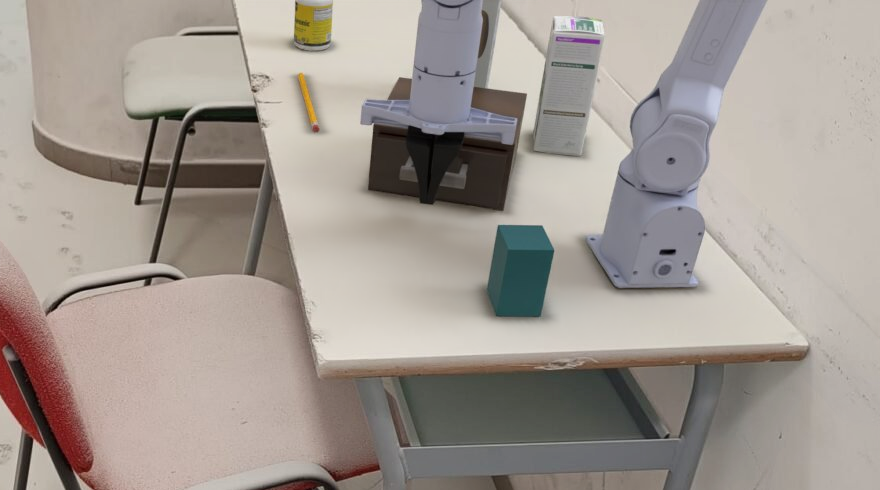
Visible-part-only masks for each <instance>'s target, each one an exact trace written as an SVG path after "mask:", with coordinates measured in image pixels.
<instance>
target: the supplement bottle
mask: <svg viewBox="0 0 880 490" xmlns="http://www.w3.org/2000/svg"><path fill="white" fill-rule="evenodd" d="M333 6H334V0H295V1H294V23H293V24H294V27H293V44H294V46H295V47H297V48H298V49H301V50H305V51H310V52H311V51H312V52H316V51H323V50H326V49H328V48H330V46H331V43H332V29H333V28H332V26H333V10H334V7H333Z"/></svg>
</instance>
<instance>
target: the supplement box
mask: <svg viewBox="0 0 880 490" xmlns="http://www.w3.org/2000/svg"><path fill="white" fill-rule="evenodd" d="M502 1H503V0H483V4H482V11H481V14H482V17H483V24H482V31H481V38H480V45H479V52H478V59H477V66H476V73H475V80H474V87H480V88H488V89H489V83H490V77H491V70H492V65H493V58H494V51H495V47H496V46H495V45H496V40H497V34H498V29H499V28H498V27H499V22H500V21H499V20H500V15H501V6H502ZM420 9H421V10H420V12H421V11H422V8H420Z"/></svg>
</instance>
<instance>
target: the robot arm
mask: <svg viewBox="0 0 880 490" xmlns="http://www.w3.org/2000/svg"><path fill="white" fill-rule="evenodd" d="M767 3H768V0H699V1H698V3H697V5H696V8H695V10H694V12H693V14H692V16H691V19H690V21H689V22H688V23H689V24H688V25H687V28H686V30H685V32H684V34H683V36H682V38H681V41H680V43H679V45H678V47H677V50H676V52H675V54H674V56H673V59H672V61H671V63H670V64H669V65H668V66H667V67H666V68H665V70H663V72H661V74H660V75H659V78H658V80H657V82H656V84H655V86H654V88H653V89H652V90H651V92H650V93H648V94H647V95H646V96H645V97H644V98H643V99H641V100H640V101H639V102H638V103H637V104H636V106H635V107H634V109H633V111H632V113H631V115H630V120H629V131H630V135H631V138H632V149H631V151H630V152H629V153H628V154H627V155H626V156H625V157H624V158H623V159H622V160H621V161H620V163H619V165H618V170H617V174H616V178H615V182H614V187H613V191H612V194H611V199H610V202H609V206H608V212H607V214H606V215H607V216H606V219H605V224H604V228H603V231H602V234H587V235H585V238H584V240H585V242H586V243H587V245H588V246H589V248H590V250H591V251H592V252H593V254H594V256H595V258H596V259H597V261H598V262H599V263H600V265H601V267H602V268H603V270H604V271H605V273H606V274H607V276H608V278H609V279H610V281H611V282H612V284H613V286H615V287H616V288H619V289H632V288H633V289H635V288H636V289H637V288H640V289H641V288H697V287H698V286H699V280H698V279H697V277H696V276H695V275H694V274H693V272H694V270H695V265H696V262H697V259H698V256H699V252H700V249H701V246H702V243H703V239H704V235H705V233H706V221H705V218H704V216H703V214H702V212H701V210H700V207H699V204H698V190H699V185H700V181H701V180H702V179H701V178H702V177H703V176H704V175H705V173H706V171H707V169H708V167H709V163H710V159H711V153H710V141H711V136H712V134H713V131H714V130H715V127H716V125H717V123H718V120H719V116H720V109H721V105H722V100H723V95H724V92H725V88H726V86H727V84H728V82H729V80H730V78H731V76H732V75H733V72H734V69H735V67H736V65H737V63H738V62H739V60H740V57H741V55H742V54H743V51H744V49H745V47H746V46H747V43H748V41H749V40H750V37H751V35H752V34H753V31H754V29H755V27H756V25H757V23H758V21H759V18H760V16H761V15H762V12H763V11H764V9H765V7H766V4H767ZM482 4H483V0H421V9H422V11H421V10H420V12H419V14H418V19H417V27H416V39H415V46H414V56H413V67H412V76H411V79H412V84H411V93H410V100H387V99H372V98H365V100H364V101H363V103H362V104H361V110H360V111H361V112H360V123H359V124H360V125H362V126H373V124H381V125H389V126H396V127H404V128H408V132H407V137H406V139H405V143H406V148H407V150H408V152H409V155H410V157H411V159H412V162H413V165H414V168H415V171H416V175H417V180H418V186H419V194H420V198H419V204H424V205H430V206H434V205H435V202H436V201H435V199H436V196H437V191H438V187H439V185H440V183H441V181H442V179H443V177H444V175H445V173H446V171H447V169H448V168H449V166H450V164H451V163H452V161H453V160H454V159H455V157H456V156H457V154H458V152H459V151H460V149H461V147H462V144H463V141H464V138H465V136H470V137H477V138H485V139H492V140H500V141H501V143H503V144H508V145H513V141H514V136H515V131H516V125H517V118H512V117H506V116H501V115H497V114H493V113H490V112H486V111H482V110H479V109H475V108H471V101H472V94H473V87H474V80H475V73H476V66H477V59H478V52H479V45H480V38H481V31H482V24H483V17H482V14H481V11H482ZM436 135H438V136H437V138H436ZM432 161H433V165H432Z"/></svg>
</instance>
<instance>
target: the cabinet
mask: <svg viewBox="0 0 880 490" xmlns="http://www.w3.org/2000/svg"><path fill="white" fill-rule="evenodd" d="M411 84H412V78H411V77H410V78H408V77H401V76H399V77H398V79H397V81H396V82H395V84H394V86H393V87H392V90H391V91H390V93H389V94H388V97H387V99H386V100H410V93H411ZM527 97H528V93H527V92H517V91H511V90H510V91H509V90H502V89H496V88H495V89H494V88H489V87H488V88H480V87H473V94H472V101H471V108H475V109H479V110H482V111H486V112H490V113H493V114H497V115H501V116H506V117H512V118H517V125H516V131H515V136H514V141H513V145H508V144H503V143H501V141H500V140H492V139H485V138H477V137H470V136H465V138H464V141H463V144H466V145H473V146H480V147H488V148H495V149H502V150H505V151H506V152H508V153H507V159H506V165H505V171H504V176H503V182H502V188H501V194H500V200H499V205H498V208H497V207H490V206H484V205H477V204H471V203H464V202H458V201H451V200H445V199H438V198H436V199H435V202H442V203H449V204H455V205H460V206H461V205H462V206H468V207H475V208H481V209H488V210H495V211H500V212H501V211H502V212H504V211H505V206H506V202H507V198H508V193H509V188H510V185H511V181H512V176H513V171H514V167H515V163H516V158H517V154H518V147H519V143H520V137H521V131H522V125H523V120H524V115H525V109H526V104H527V103H526V102H527V99H528V98H527ZM407 132H408V128H404V127H396V126H389V125H381V124H374V123H372V134H371V135H372V136H371V146H370V158H369V159H370V160H369V170H368V181H367V182H368V184H367V191H370V192H375V193H376V192H377V193H384V194H389V195H390V194H391V195H397V196H404V197H409V198H416V199H420V196H419V195H412V194H406V193H399V192H392V191H386V190H379V189H373V188H372V176H373V165H374V154H375V143H376V137H377V135H378V133H379V134H386V135H387V133H388V134H395V135H402V136H407ZM437 136H438V135H436V138H437Z"/></svg>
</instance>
